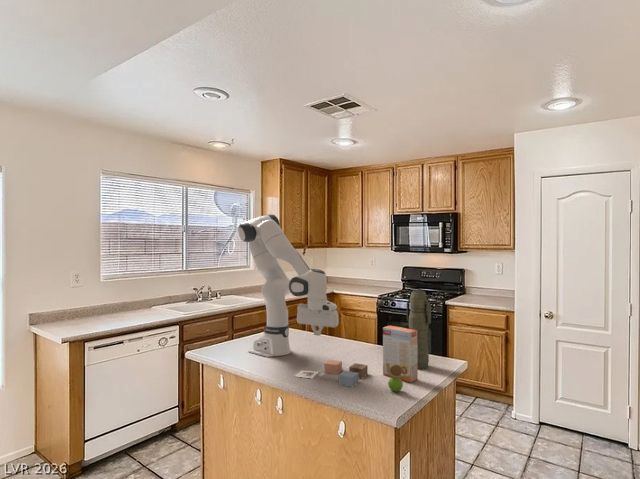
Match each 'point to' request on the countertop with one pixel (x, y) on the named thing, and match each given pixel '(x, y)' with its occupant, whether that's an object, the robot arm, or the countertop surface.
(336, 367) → the terracotta block
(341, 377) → the slate block
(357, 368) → the base block
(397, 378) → the snail figurine
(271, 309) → the robot arm
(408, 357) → the cracker box
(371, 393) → the countertop surface
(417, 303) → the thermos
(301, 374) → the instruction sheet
